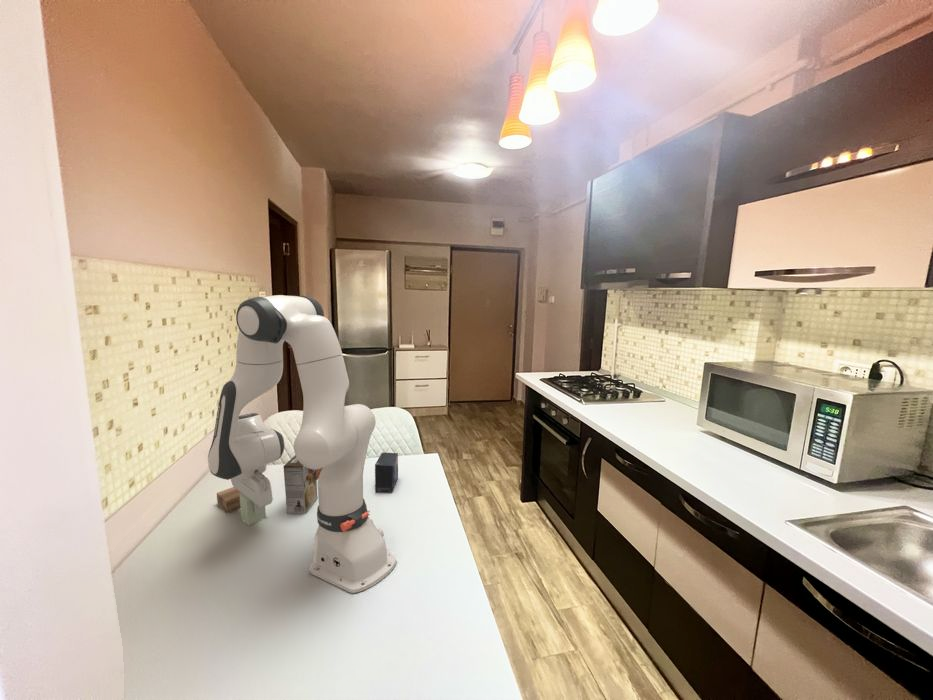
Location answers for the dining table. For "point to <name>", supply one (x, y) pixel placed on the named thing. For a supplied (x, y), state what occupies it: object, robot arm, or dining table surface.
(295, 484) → the coffee box
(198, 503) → the dining table surface
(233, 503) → the base block
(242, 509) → the sage block
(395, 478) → the small box
